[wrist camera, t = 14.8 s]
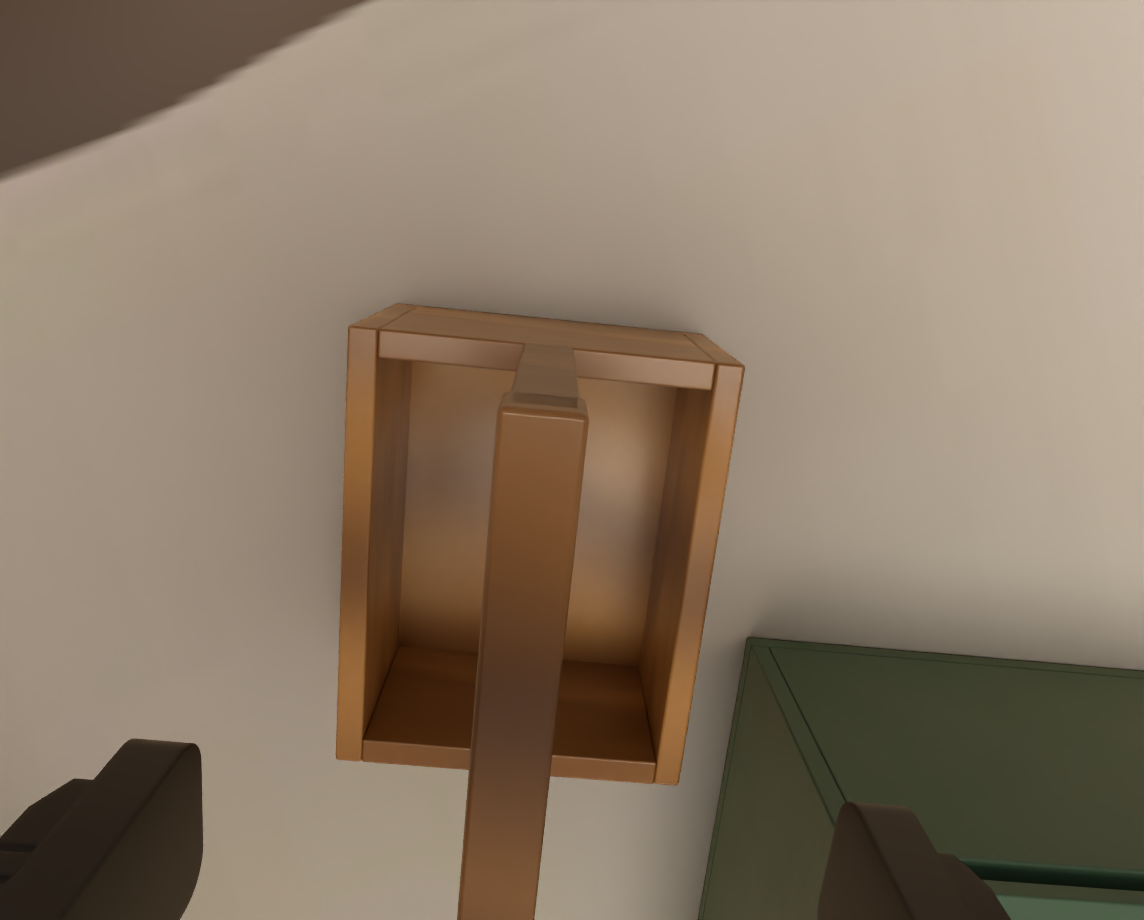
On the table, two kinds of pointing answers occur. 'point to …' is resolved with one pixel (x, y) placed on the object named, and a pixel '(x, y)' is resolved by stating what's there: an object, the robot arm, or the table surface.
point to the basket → (526, 561)
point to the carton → (933, 776)
